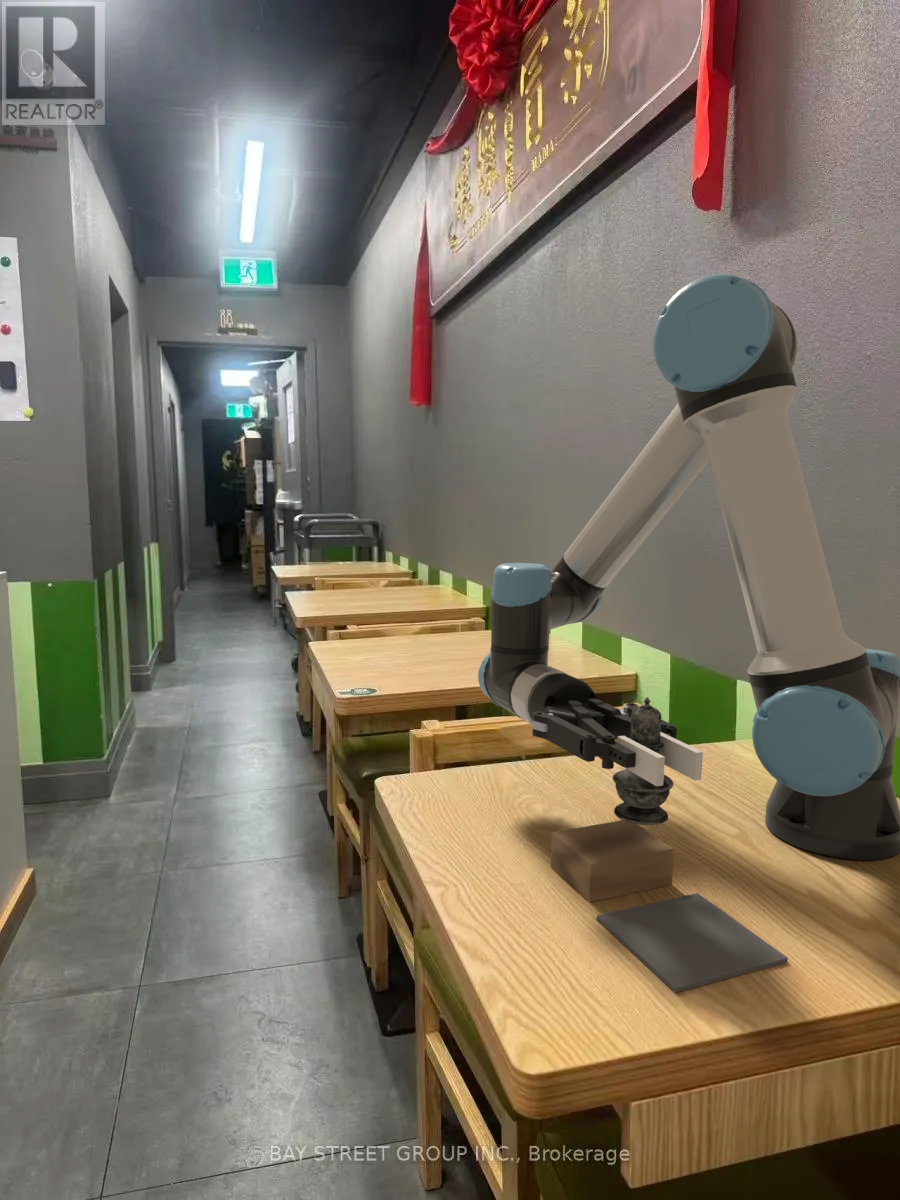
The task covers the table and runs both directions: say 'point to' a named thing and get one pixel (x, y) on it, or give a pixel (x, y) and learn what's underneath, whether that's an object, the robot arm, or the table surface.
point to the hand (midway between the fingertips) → (679, 768)
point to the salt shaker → (633, 789)
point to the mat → (690, 941)
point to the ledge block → (611, 859)
